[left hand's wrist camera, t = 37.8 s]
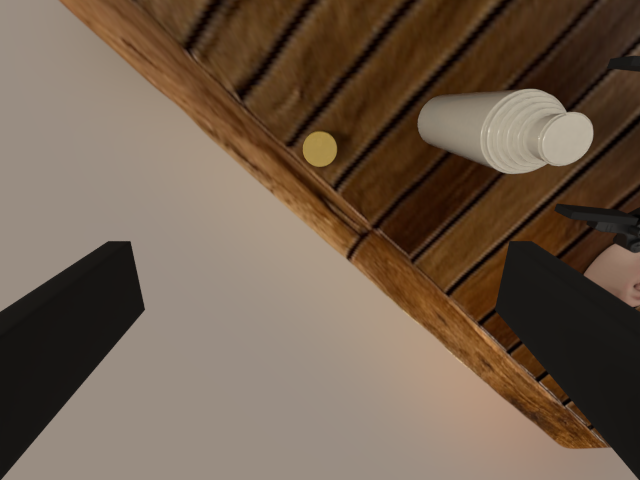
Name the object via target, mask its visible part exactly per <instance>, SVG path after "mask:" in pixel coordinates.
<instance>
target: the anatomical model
mask: <svg viewBox="0 0 640 480" xmlns="http://www.w3.org/2000/svg"><path fill="white" fill-rule="evenodd" d="M584 276H586V277H587V278H589V279H590V280H592V281H593V282H595V283H596V284H598V285H599V286H601V287H602V288H604V289H605V290H607V291H608V292H610V293H612V294H613V295H615V296H616V297H618V298H619V299H621V300H622V301H624V302H625V303H627V304H628V305H630V306H631V307H635V306H638V305H640V252H638V253H632V252H630V251H628V250H626V249H624V248H623V247H621V246H619V245H617V244H614V245H612V246H610V247H609V248H607V249H606V250H605V251H604V252H602V253H601V254H600V255H599V256H598V257H597V258H596V259H595V260H594V262H593V263H592V264H591V265H590V266H589V268H588V269H587V270H586V272H585V273H584Z"/></svg>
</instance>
